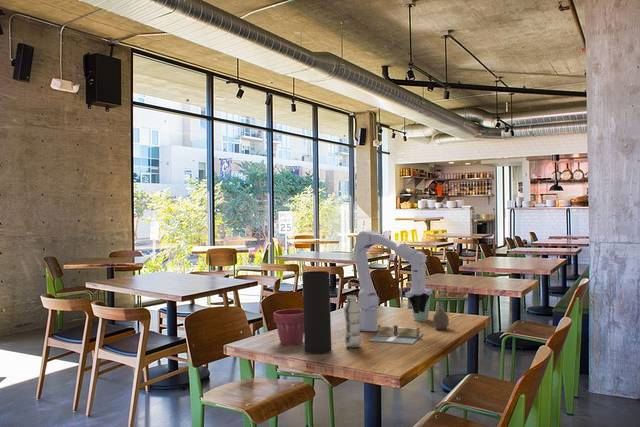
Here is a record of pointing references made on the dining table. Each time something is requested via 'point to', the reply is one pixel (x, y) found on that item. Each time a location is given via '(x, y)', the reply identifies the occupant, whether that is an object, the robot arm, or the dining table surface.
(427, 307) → the disposable coffee cup
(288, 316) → the plant pot
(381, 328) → the fence fixed
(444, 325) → the vase
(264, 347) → the dining table surface
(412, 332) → the fence panel
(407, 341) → the card
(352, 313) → the plastic bottle
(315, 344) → the vase
